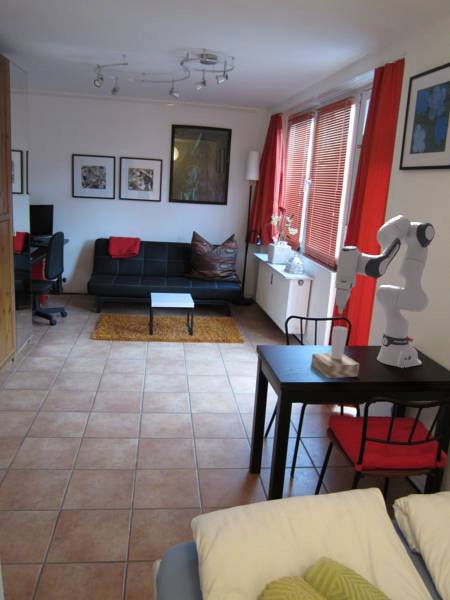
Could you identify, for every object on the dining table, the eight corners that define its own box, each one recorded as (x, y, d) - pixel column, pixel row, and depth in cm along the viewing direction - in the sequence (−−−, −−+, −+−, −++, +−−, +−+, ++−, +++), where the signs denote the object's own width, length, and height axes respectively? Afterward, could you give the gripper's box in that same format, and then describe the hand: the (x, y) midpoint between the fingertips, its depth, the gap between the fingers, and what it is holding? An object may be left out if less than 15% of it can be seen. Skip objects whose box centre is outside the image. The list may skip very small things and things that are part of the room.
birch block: (339, 363, 252) (341, 352, 251) (357, 376, 238) (359, 364, 236) (311, 365, 247) (312, 353, 246) (327, 378, 232) (329, 366, 231)
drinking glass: (343, 361, 238) (347, 331, 234) (329, 359, 239) (333, 329, 236) (343, 357, 244) (347, 327, 241) (329, 355, 246) (333, 325, 242)
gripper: (341, 277, 242) (338, 305, 246) (335, 284, 224) (331, 314, 227) (355, 279, 240) (351, 307, 244) (349, 286, 222) (345, 317, 225)
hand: (341, 311), depth 235 cm, fingers open, 8 cm apart
